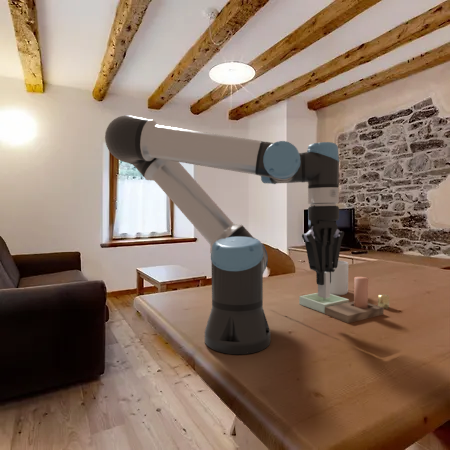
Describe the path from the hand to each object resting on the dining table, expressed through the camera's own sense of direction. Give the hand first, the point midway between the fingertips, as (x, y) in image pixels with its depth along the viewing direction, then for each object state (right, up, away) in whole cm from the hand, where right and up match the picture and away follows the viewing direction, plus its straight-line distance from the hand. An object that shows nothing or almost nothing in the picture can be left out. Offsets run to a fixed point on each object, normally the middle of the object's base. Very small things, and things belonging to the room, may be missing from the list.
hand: (323, 296), depth 83 cm
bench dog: (+22, -7, +13) cm, 26 cm away
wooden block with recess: (+11, -8, +7) cm, 15 cm away
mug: (+14, -6, +32) cm, 35 cm away
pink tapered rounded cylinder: (+13, -6, +8) cm, 17 cm away
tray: (+4, -7, +15) cm, 17 cm away
